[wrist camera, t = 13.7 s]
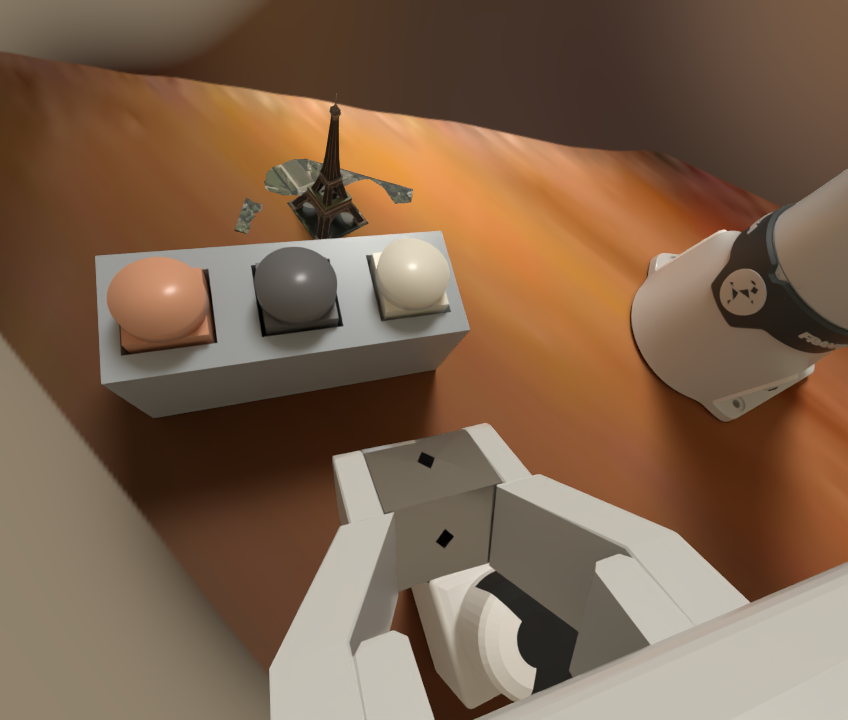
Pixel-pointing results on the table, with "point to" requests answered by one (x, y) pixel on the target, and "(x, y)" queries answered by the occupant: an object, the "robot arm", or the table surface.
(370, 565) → the robot arm
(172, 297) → the button terracotta
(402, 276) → the button cream
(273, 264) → the button charcoal
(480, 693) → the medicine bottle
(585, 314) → the table surface
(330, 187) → the eiffel tower figurine
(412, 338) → the button console
